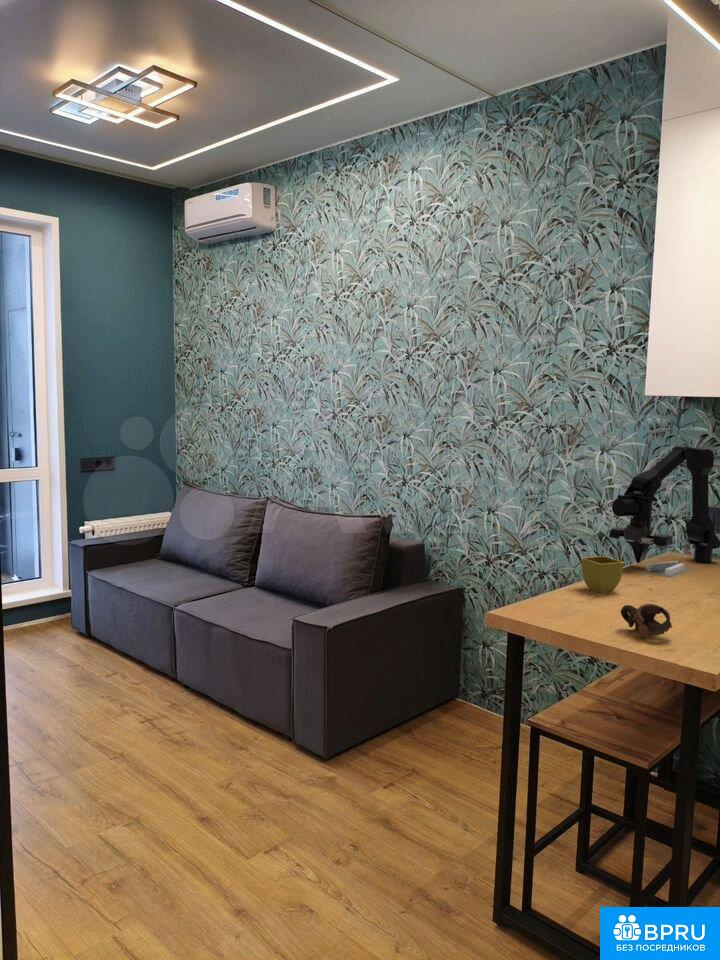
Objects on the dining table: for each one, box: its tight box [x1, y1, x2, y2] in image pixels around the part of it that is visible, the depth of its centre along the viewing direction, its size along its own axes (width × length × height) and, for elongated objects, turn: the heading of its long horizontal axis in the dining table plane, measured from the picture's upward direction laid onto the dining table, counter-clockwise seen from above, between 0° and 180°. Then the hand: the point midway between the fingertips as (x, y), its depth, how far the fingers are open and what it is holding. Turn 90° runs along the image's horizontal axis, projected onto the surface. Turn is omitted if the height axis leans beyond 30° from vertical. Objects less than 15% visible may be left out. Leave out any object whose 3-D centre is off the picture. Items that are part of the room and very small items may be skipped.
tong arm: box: [645, 560, 681, 571], centre depth 240 cm, size 14×2×2 cm, turn 117°
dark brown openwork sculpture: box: [620, 603, 673, 640], centre depth 178 cm, size 12×10×8 cm
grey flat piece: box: [644, 562, 692, 578], centre depth 239 cm, size 16×9×3 cm, turn 137°
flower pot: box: [580, 555, 625, 593], centre depth 216 cm, size 9×9×9 cm
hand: (638, 562), depth 242 cm, fingers closed
